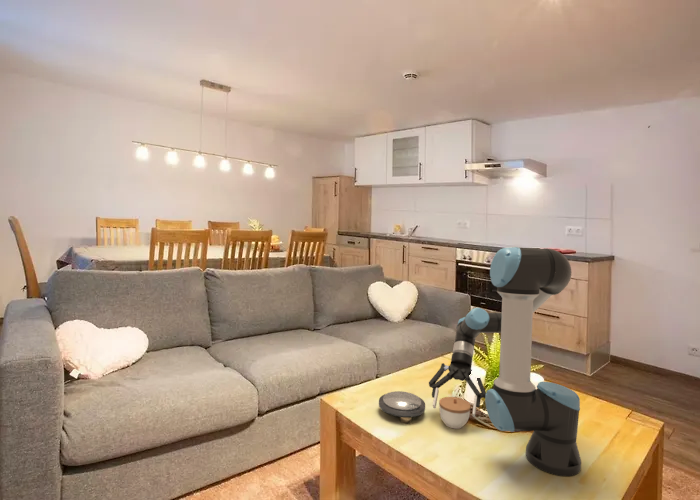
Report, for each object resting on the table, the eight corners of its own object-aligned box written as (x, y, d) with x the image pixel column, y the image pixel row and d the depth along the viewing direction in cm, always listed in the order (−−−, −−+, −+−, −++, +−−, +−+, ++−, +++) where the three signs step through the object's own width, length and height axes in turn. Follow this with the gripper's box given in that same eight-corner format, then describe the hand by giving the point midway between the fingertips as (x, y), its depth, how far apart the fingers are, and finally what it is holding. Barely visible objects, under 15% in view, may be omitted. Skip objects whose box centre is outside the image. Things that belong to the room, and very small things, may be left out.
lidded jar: (473, 422, 149) (474, 397, 149) (464, 435, 140) (465, 408, 140) (444, 414, 155) (445, 389, 154) (433, 426, 146) (435, 400, 145)
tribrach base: (429, 407, 160) (429, 395, 159) (418, 428, 144) (419, 414, 143) (386, 398, 166) (387, 386, 166) (372, 417, 150) (372, 404, 150)
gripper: (497, 366, 157) (491, 422, 144) (430, 355, 166) (419, 407, 154) (497, 357, 151) (491, 414, 139) (428, 345, 161) (417, 399, 148)
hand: (453, 411), depth 146 cm, fingers open, 13 cm apart
